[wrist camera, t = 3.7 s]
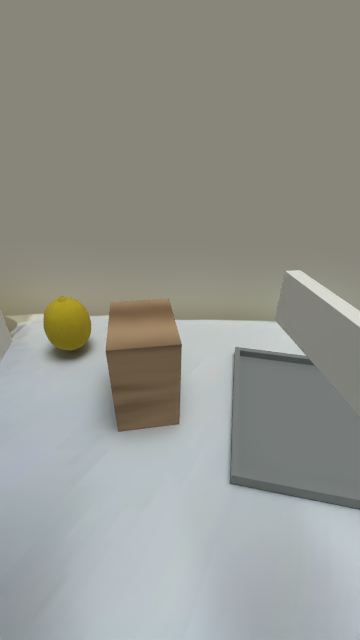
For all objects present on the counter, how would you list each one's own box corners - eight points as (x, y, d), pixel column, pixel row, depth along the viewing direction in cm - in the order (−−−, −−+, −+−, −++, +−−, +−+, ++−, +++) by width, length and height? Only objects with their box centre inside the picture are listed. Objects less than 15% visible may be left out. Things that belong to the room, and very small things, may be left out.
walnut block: (179, 424, 28) (181, 344, 22) (118, 431, 27) (105, 350, 21) (169, 370, 34) (168, 298, 29) (119, 374, 33) (110, 302, 28)
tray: (230, 483, 23) (231, 475, 22) (234, 354, 37) (235, 346, 37) (465, 530, 20) (475, 522, 20) (372, 372, 35) (376, 364, 34)
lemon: (77, 333, 41) (66, 283, 36) (103, 346, 38) (95, 294, 34) (43, 352, 37) (26, 299, 32) (69, 369, 34) (55, 313, 30)
